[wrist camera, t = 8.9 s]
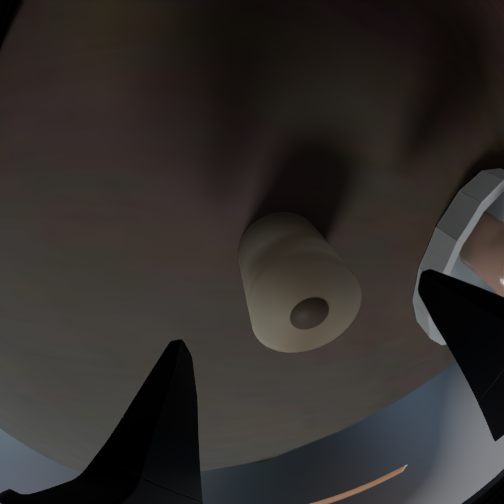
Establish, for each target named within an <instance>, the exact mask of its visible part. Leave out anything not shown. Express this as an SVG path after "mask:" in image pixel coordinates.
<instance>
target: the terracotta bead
mask: <svg viewBox="0 0 504 504" xmlns="http://www.w3.org/2000/svg"><path fill="white" fill-rule="evenodd" d="M459 255H460V260H461V262H462V263H463V264H465V265H466V266H467V267H468V268H469V269H471V270H472V271H473V272H474V273H475V274H476V275H477V276H479V277H480V278H481V279H482V280H483V281H484V282H485V283H486V284H488V285H489V286H490V287H491V288H492V289H493V290H494V291H495V292H496V293H497V294H498V295H500V296H502V297H504V222H503V221H501V220H500V219H498V218H496V217H495V216H493V215H491V214H490V213H488V212H486V211H484V212H483V214H482V215H481V217H480V219H479V220H478V222H477V224H476V225H475V227H474V229H473V230H472V232H471V233H470V235H469V236H468V238H467V239H466V241H465V242H464V244H463V246H462V248H461V250H460V252H459Z"/></svg>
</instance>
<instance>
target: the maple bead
mask: <svg viewBox="0 0 504 504" xmlns="http://www.w3.org/2000/svg"><path fill="white" fill-rule="evenodd" d="M238 260H239V266H240V270H241V275H242V280H243V285H244V290H245V295H246V300H247V305H248V310H249V314H250V319H251V324H252V329H253V331H254V334H255V335H256V337H257V338H258V340H259V341H260V342H261V343H263V344H264V345H265V346H267V347H269V348H271V349H273V350H277V351H280V352H291V353H294V352H303V351H308V350H312V349H315V348H318V347H320V346H323V345H325V344H327V343H329V342H330V341H332V340H333V339H335V338H336V337H338V336H339V335H340V334H341V333H343V332H344V331H345V330H346V329H347V328H348V326H349V325H350V324H351V323H352V321H353V320H354V318H355V317H356V315H357V313H358V311H359V308H360V304H361V299H362V292H361V287H360V284H359V282H358V280H357V278H356V277H355V276H354V274H353V273H352V272H351V271H350V269H349V268H348V267H347V265H346V264H345V263H344V262H343V261H342V259H341V258H340V257H339V256H338V254H337V253H336V252H335V251H334V249H333V248H332V247H331V246H330V245H329V243H328V242H327V241H326V240H325V239H324V237H323V236H322V235H321V234H320V233H319V231H318V230H317V229H316V228H315V227H314V226H313V224H312V223H311V222H310V221H309V220H307V219H306V218H305V217H303V216H301V215H299V214H296V213H292V212H275V213H271V214H268V215H265V216H263V217H261V218H259V219H258V220H256V221H255V222H254V223H252V224H251V225H250V226H249V227H248V228H247V230H246V231H245V232H244V234H243V236H242V238H241V240H240V243H239V246H238Z"/></svg>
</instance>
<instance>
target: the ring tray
mask: <svg viewBox="0 0 504 504" xmlns="http://www.w3.org/2000/svg"><path fill="white" fill-rule="evenodd" d="M484 211H486V212H488V213H490V214H491V215H493V216H495V217H496V218H498V219H500V220H501V221H503V222H504V170H503V169H501V168H498V169H490V170H482V171H481V172H480V173H478V174H477V175H476V176H475V177H474V178H473V179H472V180H471V181H469V182H468V183H467V184H466V185H465V186H464V187H463V188H461V189H460V190H459V191H458V193H457V195H456V196H455V198H454V200H453V201H452V203H451V204H450V206H449V207H448V209H447V210H446V212H445V213H444V215H443V216H442V218H441V219H440V221H439V222H438V224H437V225H436V226H437V227H435V230H434V233H433V235H432V238H431V240H430V242H429V245H428V247H427V250H426V252H425V254H424V256H423V259H422V261H421V263H420V265H419V269H418V275H417V280H416V286H415V291H414V295H413V305H414V310H415V314H416V319H417V322H418V323H419V324H420V326H421V327H422V328H423V330H424V331H425V332H426V333H427V335H428V336H429V337H430V339H432V340H434V341H436V342H437V343H439V344H441V345H445V344H446V342H445V340H444V339H443V337H442V336H441V334H440V332H439V331H438V329H437V327H436V326H435V324H434V322H433V320H432V319H431V317H430V315H429V313H428V311H427V309H426V307H425V305H424V303H423V301H422V299H421V297H420V296H419V293H418V285H419V279H420V275H421V273H422V272H423V271H425V270H428V269H432V270H435V271H438V272H440V273H443V274H446V275H449V276H451V277H454V278H457V279H459V280H462V281H465V282H467V283H470V284H472V285H475V286H478V287H480V288H483V289H485V290H488V291H490V292H493V293H495V294H497V293H496V292H495V291H494V290H493V289H492V288H491V287H490V286H489V285H488V284H486V283H485V282H484V281H483V280H482V279H481V278H480V277H479V276H477V275H476V274H475V273H474V272H473V271H472V270H471V269H469V268H468V267H467V266H466V265H465V264H463V263H462V262H461V260H460V255H459V252H460V250H461V248H462V246H463V244H464V242H465V241H466V239H467V238H468V236H469V235H470V233H471V232H472V230H473V229H474V227H475V225H476V224H477V222H478V220H479V219H480V217H481V215H482V214H483V212H484Z"/></svg>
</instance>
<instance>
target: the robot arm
mask: <svg viewBox="0 0 504 504" xmlns="http://www.w3.org/2000/svg"><path fill="white" fill-rule="evenodd" d="M418 293H419V296H420V297H421V299H422V301H423V303H424V305H425V307H426V309H427V311H428V313H429V315H430V317H431V319H432V320H433V322H434V324H435V326H436V327H437V329H438V331H439V332H440V334H441V336H442V337H443V339H444V340H445V342H446V344H447V346H448V347H449V349H450V351H451V352H452V354H453V356H454V358H455V359H456V361H457V363H458V365H459V366H460V368H461V370H462V372H463V374H464V376H465V378H466V380H467V381H468V383H469V385H470V387H471V389H472V391H473V393H474V395H475V397H476V399H477V402H478V404H479V406H480V408H481V410H482V412H483V415H484V417H485V419H486V422H487V424H488V426H489V429H490V431H491V434H492V436H493V439H494V440H495V441H497V440H498V439H499V438H500V437H502V436H503V435H504V297H502V296H500V295H498V294H495V293H493V292H490V291H488V290H485V289H483V288H480V287H478V286H475V285H472V284H470V283H467V282H465V281H462V280H459V279H457V278H454V277H451V276H449V275H446V274H443V273H440V272H438V271H435V270H432V269H428V270H425V271H423V272H422V273H421V275H420V279H419V285H418ZM123 417H124V418H122V419H121V420H120V422H119V424H118V425H117V427H116V428H115V430H114V431H113V433H112V434H111V436H110V437H109V439H108V440H107V442H106V443H105V444H104V446H103V447H102V448H101V450H100V451H99V452H98V454H97V455H96V456H95V457H94V459H93V460H92V461H91V463H90V464H89V465H88V467H87V468H86V469H85V470H84V471H83V473H81V474H80V475H79V476H78V477H77V478H75V479H73V480H71V481H69V482H66V483H63V484H60V485H58V486H55V487H52V488H49V489H46V490H43V491H39V492H36V493H32V494H25V495H24V494H19V493H17V492H15V491H13V490H11V489H8V490H6V491H4V492H2V493H0V503H1V504H203V502H202V489H201V476H200V459H199V439H198V407H197V392H196V385H195V377H194V369H193V361H192V356H191V354H190V352H189V350H188V348H187V347H186V345H185V343H184V341H183V340H181V339H179V340H174V341H171V342H170V343H169V344H168V346H167V347H166V349H165V350H164V352H163V354H162V355H161V357H160V358H159V360H158V361H157V363H156V365H155V366H154V368H153V369H152V371H151V372H150V374H149V376H148V377H147V379H146V380H145V382H144V383H143V385H142V387H141V388H140V390H139V391H138V393H137V395H136V396H135V398H134V399H133V401H132V403H131V404H130V406H129V408H128V409H127V411H126V412H125V414H124V416H123ZM462 504H504V469H503V470H502V471H501V472H500V473H499V474H498V475H497V476H496V477H495V478H493V479H492V480H491V481H490V482H489V483H488V484H486V485H485V486H484V487H483V488H482V489H481V490H479V491H478V492H477V493H475V494H474V495H473V496H471V497H470V498H469V499H468V500H466V501H465V502H463V503H462Z"/></svg>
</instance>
